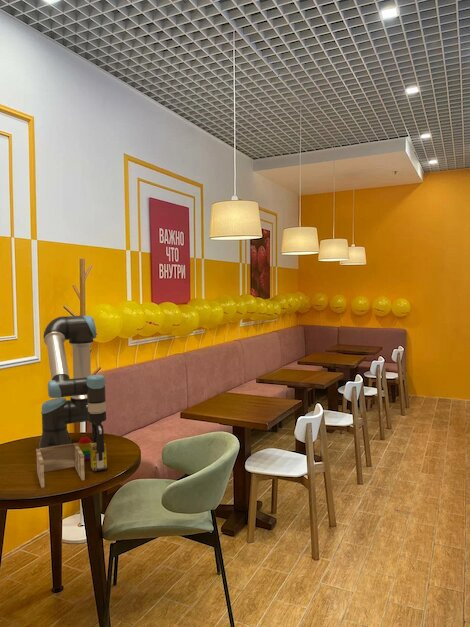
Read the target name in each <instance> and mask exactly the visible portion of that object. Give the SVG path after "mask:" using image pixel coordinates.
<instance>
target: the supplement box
mask: <svg viewBox="0 0 470 627" xmlns="http://www.w3.org/2000/svg"><path fill="white" fill-rule="evenodd" d="M104 450H105V451H104V452H103V457H104V467H103V468H97V454H96V453H95V452H97V445H96V442H95V443H90V459H89V460H90V461H89V462H90V469H91V470H92V473H94V472H95V473H96V472H98V471H99V472H100V471H105V470H108V461H107V460H108V459H107V458H108V456H107V444H106V443H105V442H104Z"/></svg>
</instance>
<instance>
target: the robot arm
mask: <svg viewBox="0 0 470 627" xmlns="http://www.w3.org/2000/svg"><path fill="white" fill-rule="evenodd" d="M97 336H98V335H97V327H96V323H95V319H94V318H93V316H90V315H70V316H65V315H63V316H58V317H56V318H54V319H52V320H51V321H50V322H49V323H48V324H47V325H46V327H45V329H44V331H43V343H44V345H45V346H46V347H47V348H46V349H47V355H48V356H47V357H48V362H49V363H48V364H49V370H50V379H51V380H48V382H47V396H48V398H50V399H49V400H46V401H44V402H43V403H42V404H41V412H40V413H41V428H42V429H41V430H42V432H41V435H40V439H39V443H38V449H39V448H46V447H52V446H59V445H65V444H72V438H71V436H70V433H69V431H68V425H69V424H76V423H88V422H89V423H91V434H92V435H91V439H92V440H91V441H92V443H95V442H96V445H97V452H95V453H96V454H97V468H103V467H104V457H103V452H104V451H105V450H104V443H105V438H104V437H105V436H104V432H105V430H104V425H102V423H103V422H106V420H107V401H106V379H105V378H106V377H105V376H104V375H102V374H93V375H92V370H91V369H92V366H91V363H92V362H91V345H92V344H93V343H94V339H97ZM65 341H68V343H69V345H71V347H72V376H73V378H70V373H69V367H68V362H67V360H68V359H67V354H66V349H65ZM67 397H70V399H68V400H67Z"/></svg>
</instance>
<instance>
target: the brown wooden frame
mask: <svg viewBox="0 0 470 627" xmlns="http://www.w3.org/2000/svg"><path fill="white" fill-rule="evenodd" d="M77 443H78V442H74V443H72V442H71V444H65V445H59V446H52V447H46V448H39V447H38V448H36V449H35V453H36V456H35V457H36V474H37V478H38V482H39V485H40V488H41V489H43V488H45V473H46V472H52V471H57V470H63V469H68V468H69V469H70V468H75V470H76V472H77V475H78V476H79V478H80V480H81V481H85V479H86V478H85V460H84V454H83V453H82V451H81V449H80V448H79V446H78V444H77Z"/></svg>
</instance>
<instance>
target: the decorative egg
mask: <svg viewBox="0 0 470 627" xmlns="http://www.w3.org/2000/svg"><path fill="white" fill-rule="evenodd" d="M91 439H92V438H90V437H88V436H82V437H81V438H80V439H79V440H78V442H76V443H77V444H78V446H79V448H80V449H81V451H82V453H83V454H84V461H89V460H90V443H92V440H91Z"/></svg>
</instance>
